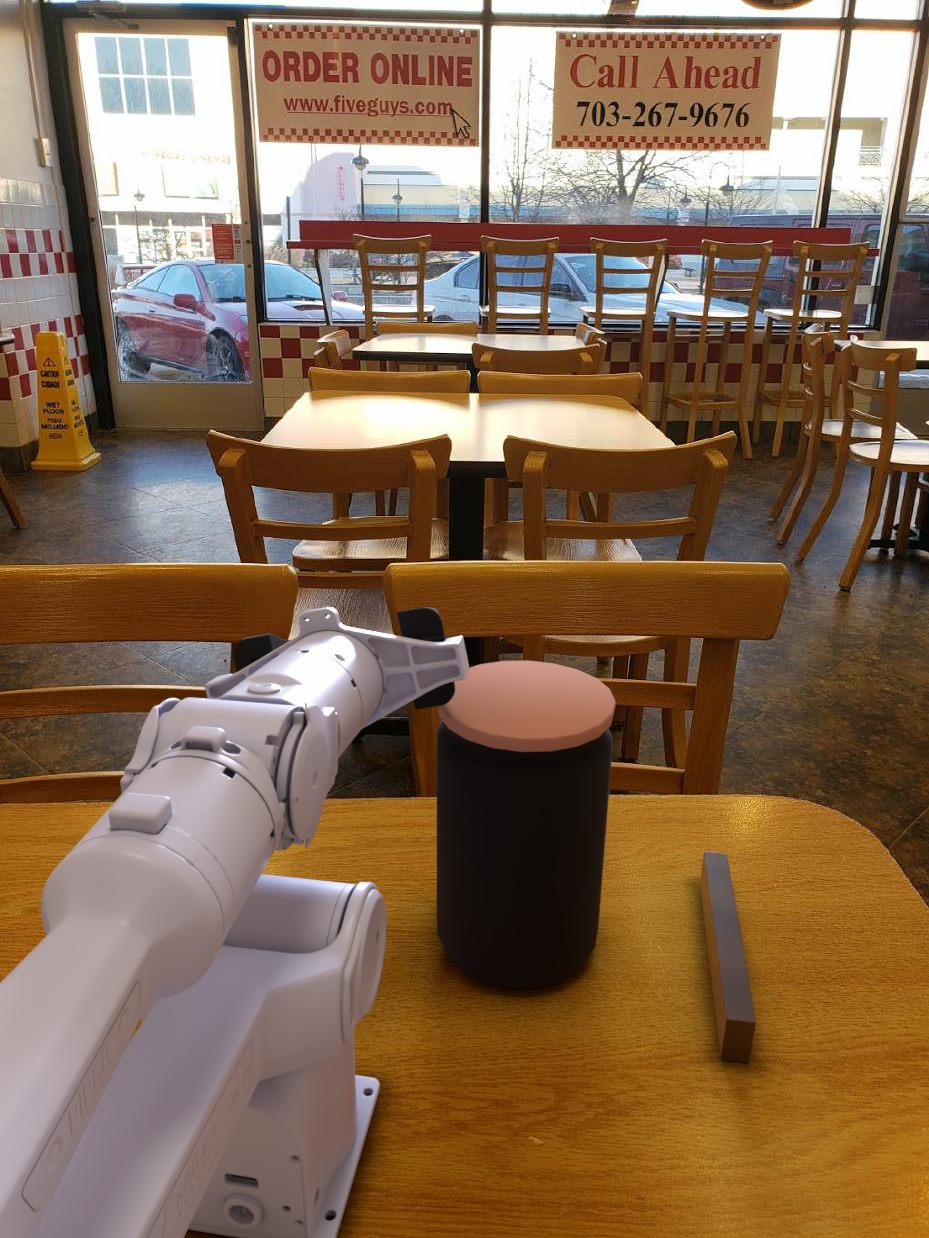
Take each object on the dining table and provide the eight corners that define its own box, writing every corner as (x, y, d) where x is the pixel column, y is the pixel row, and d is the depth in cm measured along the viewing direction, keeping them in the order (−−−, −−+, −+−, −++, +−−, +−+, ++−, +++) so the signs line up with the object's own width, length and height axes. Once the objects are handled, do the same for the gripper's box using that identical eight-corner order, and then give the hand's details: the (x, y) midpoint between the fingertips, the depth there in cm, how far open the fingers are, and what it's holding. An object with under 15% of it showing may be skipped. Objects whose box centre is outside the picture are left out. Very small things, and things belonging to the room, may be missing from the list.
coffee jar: (594, 894, 67) (612, 663, 60) (599, 1005, 57) (621, 743, 50) (445, 883, 68) (447, 655, 61) (425, 991, 58) (424, 732, 51)
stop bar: (749, 1063, 53) (756, 1022, 52) (720, 1059, 53) (726, 1018, 52) (722, 888, 68) (726, 853, 67) (699, 885, 68) (703, 850, 67)
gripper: (431, 603, 45) (470, 562, 58) (152, 651, 47) (251, 601, 60) (460, 743, 46) (492, 671, 59) (187, 782, 48) (276, 705, 62)
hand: (372, 643), depth 60 cm, fingers open, 7 cm apart
